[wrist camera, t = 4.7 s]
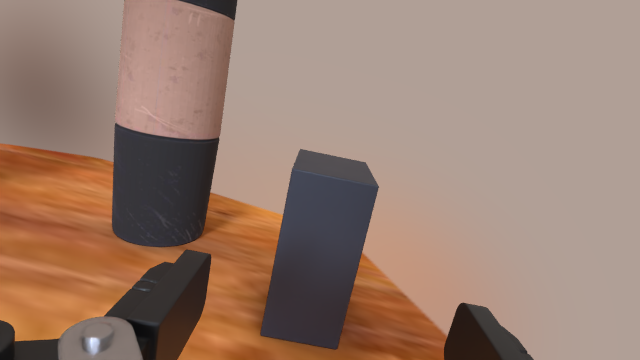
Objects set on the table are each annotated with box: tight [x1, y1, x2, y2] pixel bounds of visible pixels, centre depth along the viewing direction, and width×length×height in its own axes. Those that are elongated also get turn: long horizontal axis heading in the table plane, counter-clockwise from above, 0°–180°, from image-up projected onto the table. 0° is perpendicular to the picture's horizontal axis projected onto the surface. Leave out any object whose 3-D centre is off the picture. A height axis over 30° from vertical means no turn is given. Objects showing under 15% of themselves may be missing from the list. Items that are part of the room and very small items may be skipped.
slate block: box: [260, 149, 379, 349], centre depth 22 cm, size 4×6×10 cm
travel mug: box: [112, 0, 237, 247], centre depth 28 cm, size 8×8×20 cm
